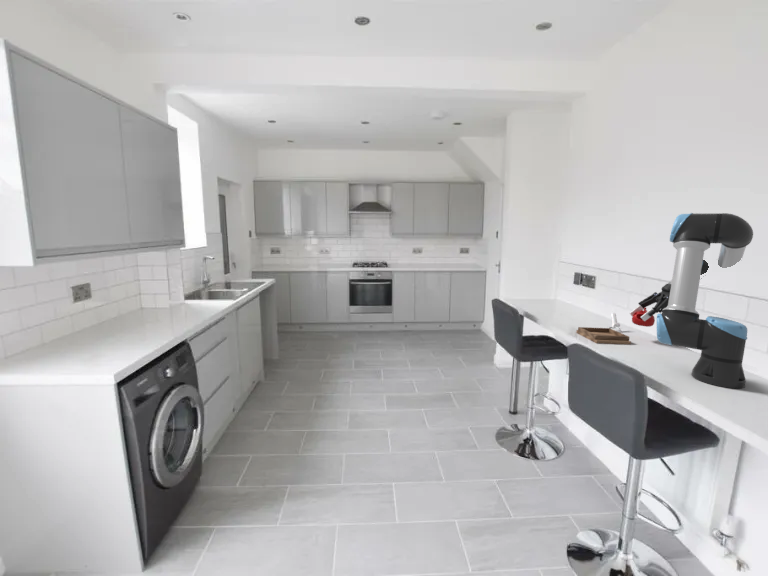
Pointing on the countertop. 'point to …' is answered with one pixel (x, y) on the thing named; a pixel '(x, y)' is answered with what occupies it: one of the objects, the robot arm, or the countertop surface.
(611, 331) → the tray
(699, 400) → the countertop surface
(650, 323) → the pomegranate
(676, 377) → the countertop surface
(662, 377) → the countertop surface
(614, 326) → the hook
